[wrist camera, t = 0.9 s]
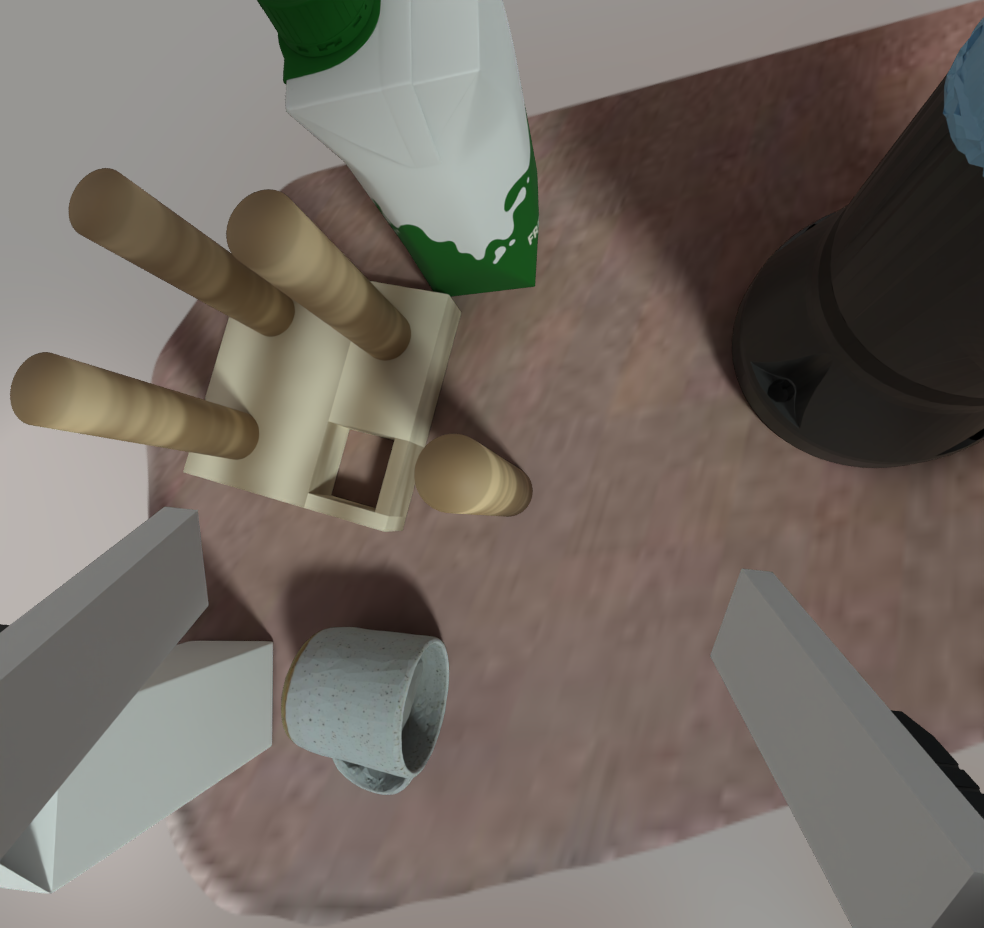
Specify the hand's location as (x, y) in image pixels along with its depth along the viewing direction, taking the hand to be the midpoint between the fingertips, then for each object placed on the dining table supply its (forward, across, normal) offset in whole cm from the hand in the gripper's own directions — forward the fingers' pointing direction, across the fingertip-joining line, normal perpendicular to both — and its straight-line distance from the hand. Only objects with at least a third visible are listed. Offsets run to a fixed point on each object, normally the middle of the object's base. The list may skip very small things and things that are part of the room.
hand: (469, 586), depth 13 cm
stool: (+26, -11, -4) cm, 29 cm away
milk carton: (+18, -16, -24) cm, 34 cm away
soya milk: (+30, -1, +8) cm, 31 cm away
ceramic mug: (+16, -4, -21) cm, 26 cm away
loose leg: (+21, +2, -7) cm, 22 cm away
